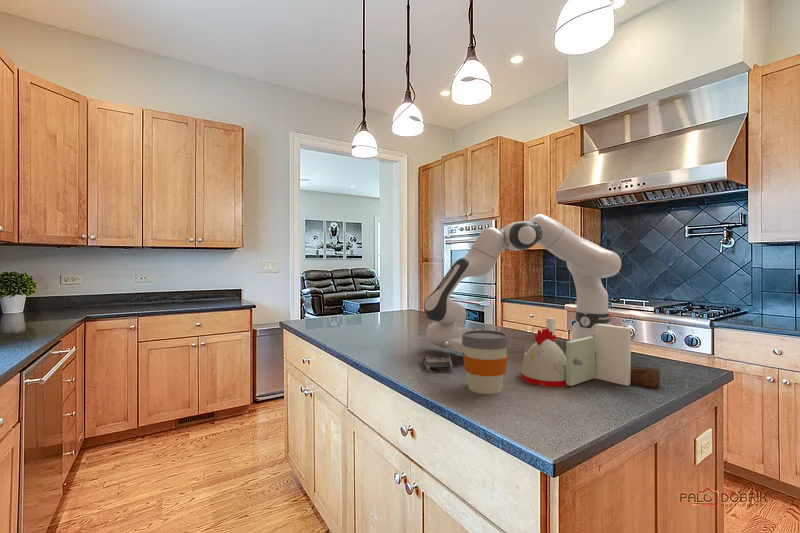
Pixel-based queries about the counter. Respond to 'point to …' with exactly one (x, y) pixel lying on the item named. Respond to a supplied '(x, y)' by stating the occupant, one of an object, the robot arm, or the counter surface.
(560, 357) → the kitchen timer
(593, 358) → the door
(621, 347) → the door frame
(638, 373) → the brick
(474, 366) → the reusable coffee cup
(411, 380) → the counter surface
